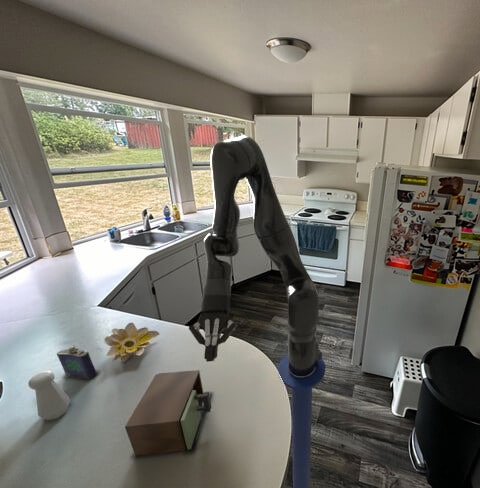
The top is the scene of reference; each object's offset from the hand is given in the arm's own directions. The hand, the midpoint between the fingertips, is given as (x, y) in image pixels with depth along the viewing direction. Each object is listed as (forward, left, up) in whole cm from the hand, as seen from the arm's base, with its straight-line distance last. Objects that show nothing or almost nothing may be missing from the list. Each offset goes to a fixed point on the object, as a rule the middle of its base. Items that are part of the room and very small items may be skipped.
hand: (210, 361), depth 66 cm
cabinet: (+11, 0, -15) cm, 18 cm away
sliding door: (+6, +7, -14) cm, 17 cm away
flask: (+31, -33, -15) cm, 48 cm away
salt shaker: (+35, -21, -15) cm, 43 cm away
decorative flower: (+18, -35, -15) cm, 42 cm away
